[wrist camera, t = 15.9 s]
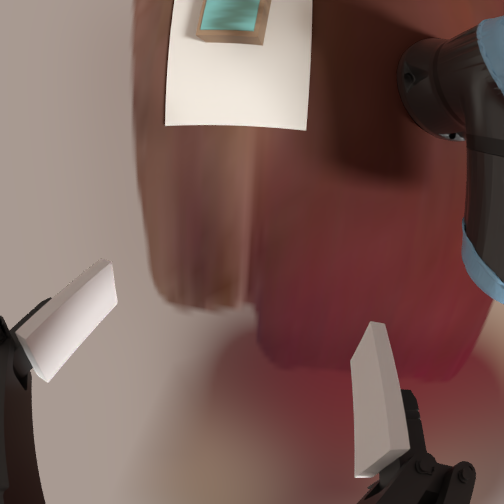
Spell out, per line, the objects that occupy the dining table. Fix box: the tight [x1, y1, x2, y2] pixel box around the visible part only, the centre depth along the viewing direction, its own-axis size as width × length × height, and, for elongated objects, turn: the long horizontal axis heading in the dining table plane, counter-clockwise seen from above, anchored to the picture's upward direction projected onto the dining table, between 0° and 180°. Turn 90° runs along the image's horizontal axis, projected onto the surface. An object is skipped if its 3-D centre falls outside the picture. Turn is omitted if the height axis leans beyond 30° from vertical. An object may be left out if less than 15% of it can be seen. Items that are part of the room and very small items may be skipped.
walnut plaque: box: [196, 0, 271, 46], centre depth 26 cm, size 8×4×12 cm
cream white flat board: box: [165, 0, 312, 130], centre depth 30 cm, size 28×20×1 cm
